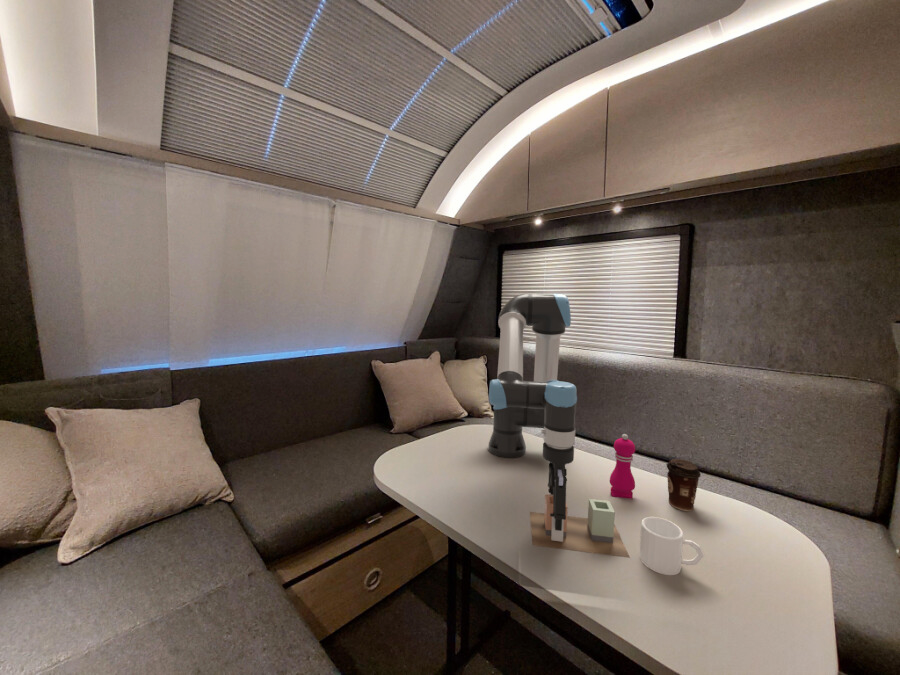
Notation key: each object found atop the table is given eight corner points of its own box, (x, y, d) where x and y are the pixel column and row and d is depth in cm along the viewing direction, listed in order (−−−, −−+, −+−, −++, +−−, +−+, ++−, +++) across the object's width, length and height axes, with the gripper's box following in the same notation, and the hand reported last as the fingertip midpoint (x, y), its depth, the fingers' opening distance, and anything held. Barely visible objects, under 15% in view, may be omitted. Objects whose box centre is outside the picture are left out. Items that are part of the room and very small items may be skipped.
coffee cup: (660, 504, 106) (663, 463, 105) (666, 494, 112) (669, 454, 111) (695, 517, 100) (698, 473, 99) (699, 505, 106) (703, 463, 105)
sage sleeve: (587, 528, 92) (588, 498, 91) (607, 530, 91) (609, 500, 91) (591, 540, 87) (593, 509, 86) (613, 543, 86) (614, 512, 86)
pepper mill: (637, 503, 107) (641, 439, 105) (611, 500, 108) (615, 437, 106) (630, 491, 114) (634, 431, 112) (606, 488, 115) (609, 429, 113)
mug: (700, 597, 72) (704, 552, 72) (635, 569, 80) (638, 528, 79) (703, 574, 79) (706, 532, 78) (642, 550, 86) (645, 512, 85)
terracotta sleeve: (543, 523, 94) (545, 494, 93) (563, 525, 93) (564, 496, 92) (545, 535, 89) (546, 505, 88) (566, 537, 88) (567, 507, 87)
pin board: (529, 516, 99) (530, 491, 98) (612, 526, 95) (614, 499, 95) (532, 550, 85) (533, 521, 85) (629, 563, 82) (631, 532, 81)
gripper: (540, 428, 100) (537, 504, 102) (547, 460, 79) (543, 555, 81) (567, 430, 99) (564, 507, 101) (582, 463, 78) (577, 559, 80)
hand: (554, 528), depth 91 cm, fingers open, 8 cm apart
